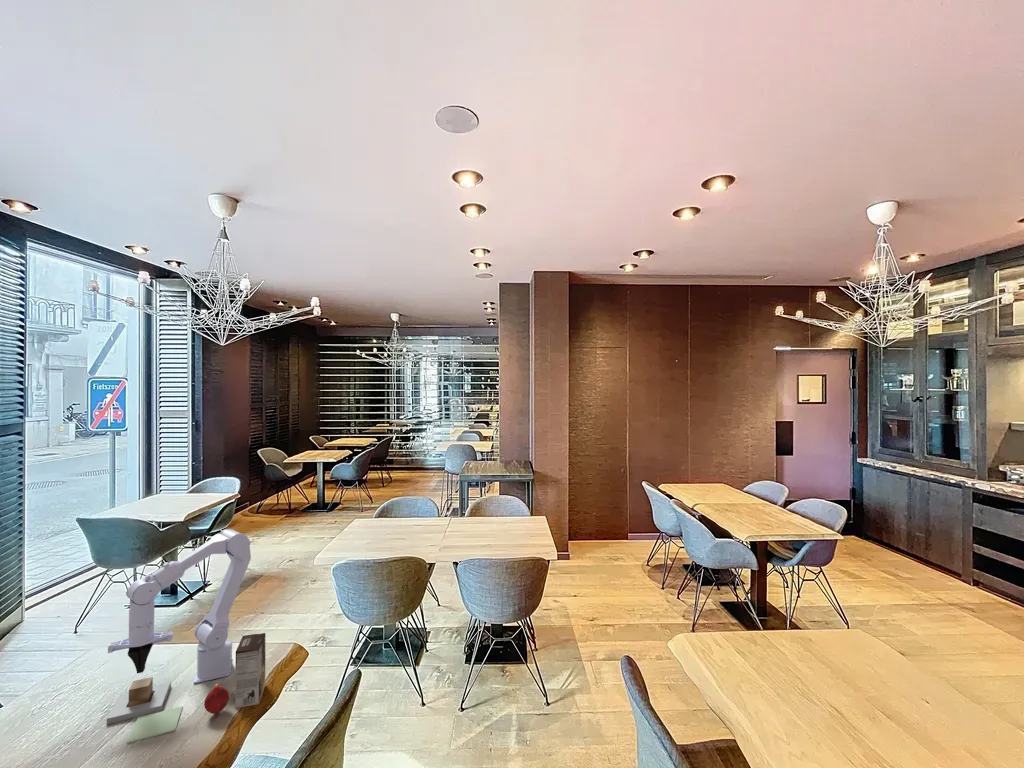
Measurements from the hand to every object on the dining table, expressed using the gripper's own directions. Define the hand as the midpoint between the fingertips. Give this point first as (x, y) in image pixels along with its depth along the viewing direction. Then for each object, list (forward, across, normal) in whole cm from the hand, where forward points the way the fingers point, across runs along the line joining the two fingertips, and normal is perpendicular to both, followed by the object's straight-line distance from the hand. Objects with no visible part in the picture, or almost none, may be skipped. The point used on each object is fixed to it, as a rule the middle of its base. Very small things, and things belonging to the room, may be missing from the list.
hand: (140, 671), depth 132 cm
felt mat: (+9, -6, +12) cm, 16 cm away
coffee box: (+10, -28, +10) cm, 31 cm away
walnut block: (+10, 0, 0) cm, 10 cm away
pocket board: (+9, 0, 0) cm, 9 cm away
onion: (+10, -20, +14) cm, 26 cm away
